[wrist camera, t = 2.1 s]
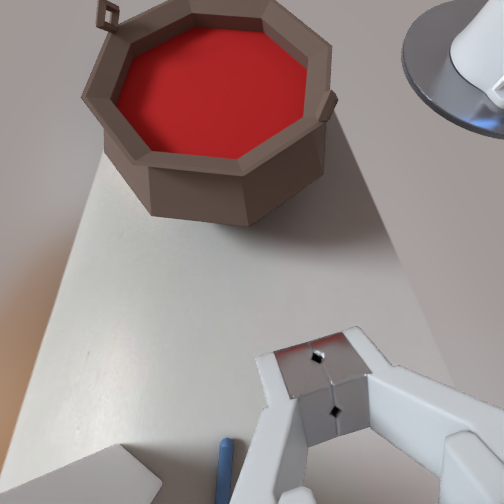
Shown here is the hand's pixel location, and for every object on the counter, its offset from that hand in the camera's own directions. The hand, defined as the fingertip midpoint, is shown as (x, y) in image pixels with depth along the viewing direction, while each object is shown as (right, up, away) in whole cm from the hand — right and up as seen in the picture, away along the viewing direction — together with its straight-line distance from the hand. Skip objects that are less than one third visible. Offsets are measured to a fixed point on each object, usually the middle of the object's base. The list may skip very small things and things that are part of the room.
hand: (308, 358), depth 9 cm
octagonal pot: (-5, +14, +31) cm, 34 cm away
